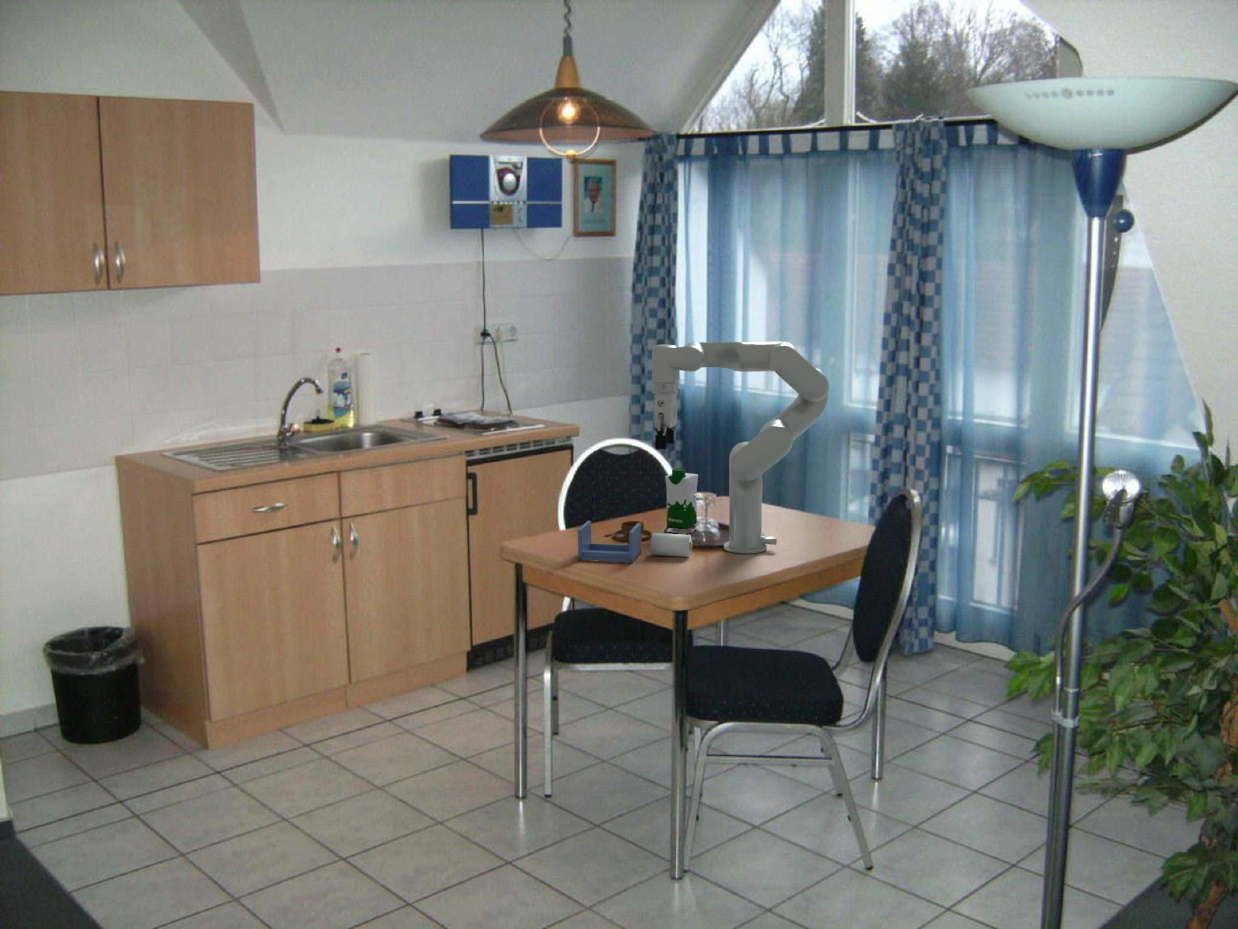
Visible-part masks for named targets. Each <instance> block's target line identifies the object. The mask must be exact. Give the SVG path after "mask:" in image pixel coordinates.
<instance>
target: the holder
mask: <svg viewBox="0 0 1238 929" xmlns="http://www.w3.org/2000/svg"><path fill="white" fill-rule="evenodd" d="M641 538H642V535H641V523H637V524H636V525H635V526H634V528H633V529H632V530H631V531H630V532H629V545H628V544H617V543H616V544H615V543H597V542H596V543H595V542H594V543H593V542H592V521H591V520H587V521H586V522H585V523H584V524H582V526H580V527H579V528H578V529H577V558H578V559H577V560H598V561H605V562H604V563H617V562H625V563H624V564H634V563H635V562H636V560H637V559H639V557H640V555H642V541H641ZM638 556H639V557H638ZM598 561H597V562H598ZM633 562H634V563H633Z"/></svg>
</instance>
